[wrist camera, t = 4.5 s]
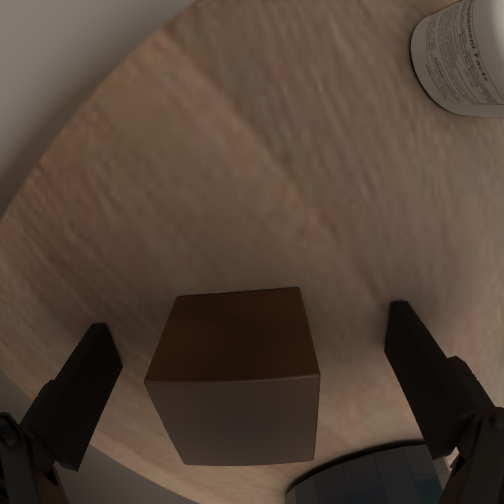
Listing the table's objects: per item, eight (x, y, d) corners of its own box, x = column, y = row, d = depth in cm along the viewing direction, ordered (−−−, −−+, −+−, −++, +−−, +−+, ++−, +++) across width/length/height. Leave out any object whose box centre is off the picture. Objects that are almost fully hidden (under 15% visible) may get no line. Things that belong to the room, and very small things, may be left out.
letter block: (199, 381, 15) (183, 465, 10) (176, 295, 13) (142, 381, 8) (300, 375, 14) (313, 461, 10) (299, 286, 13) (321, 374, 8)
